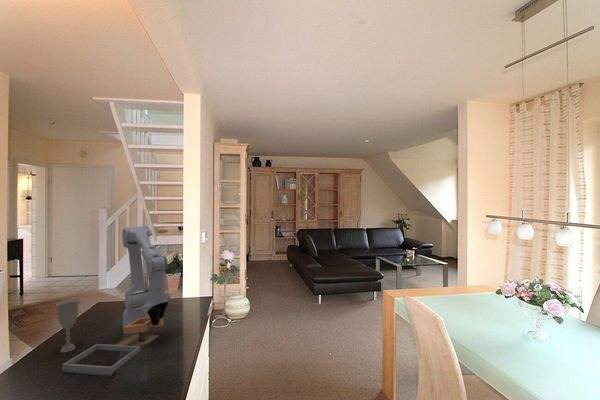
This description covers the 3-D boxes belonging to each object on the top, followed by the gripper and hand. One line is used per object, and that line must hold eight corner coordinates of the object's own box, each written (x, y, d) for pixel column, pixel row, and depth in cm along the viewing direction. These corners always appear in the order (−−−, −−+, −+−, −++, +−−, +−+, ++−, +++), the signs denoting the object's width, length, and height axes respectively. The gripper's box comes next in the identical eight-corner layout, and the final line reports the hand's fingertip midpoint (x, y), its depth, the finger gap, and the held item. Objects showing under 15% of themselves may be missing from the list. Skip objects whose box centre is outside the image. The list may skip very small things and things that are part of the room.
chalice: (84, 348, 108) (84, 300, 108) (64, 358, 102) (64, 307, 102) (71, 345, 111) (70, 298, 111) (51, 354, 104) (50, 305, 104)
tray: (62, 372, 93) (62, 364, 93) (97, 350, 107) (96, 343, 107) (111, 376, 91) (111, 368, 91) (140, 353, 104) (140, 346, 104)
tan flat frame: (123, 334, 108) (122, 327, 108) (140, 324, 117) (139, 317, 117) (155, 330, 107) (154, 323, 107) (169, 320, 115) (168, 314, 116)
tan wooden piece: (113, 348, 108) (113, 331, 108) (132, 336, 118) (132, 320, 118) (142, 350, 107) (142, 332, 107) (159, 337, 117) (159, 321, 117)
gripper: (154, 294, 104) (154, 332, 104) (176, 283, 118) (177, 316, 118) (136, 293, 105) (136, 331, 105) (160, 282, 119) (161, 315, 119)
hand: (157, 323), depth 111 cm, fingers closed on tan flat frame, 2 cm apart
